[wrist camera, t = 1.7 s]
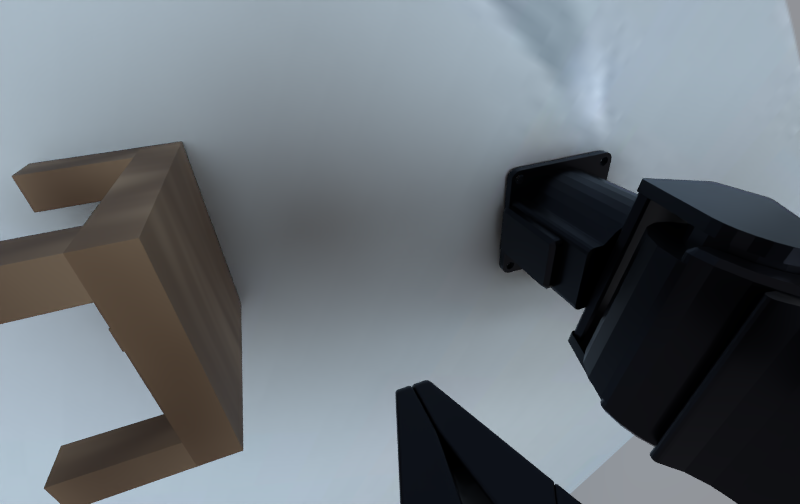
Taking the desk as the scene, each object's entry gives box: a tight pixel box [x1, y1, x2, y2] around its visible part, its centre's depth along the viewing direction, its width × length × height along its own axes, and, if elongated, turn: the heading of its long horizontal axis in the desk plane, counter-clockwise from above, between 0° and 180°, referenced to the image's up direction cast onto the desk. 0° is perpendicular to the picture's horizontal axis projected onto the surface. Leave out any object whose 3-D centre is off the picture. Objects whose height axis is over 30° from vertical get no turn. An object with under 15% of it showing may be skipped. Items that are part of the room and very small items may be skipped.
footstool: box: [0, 142, 243, 504], centre depth 13 cm, size 5×8×8 cm, turn 5°
